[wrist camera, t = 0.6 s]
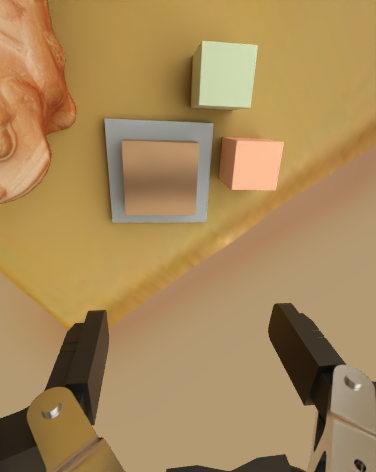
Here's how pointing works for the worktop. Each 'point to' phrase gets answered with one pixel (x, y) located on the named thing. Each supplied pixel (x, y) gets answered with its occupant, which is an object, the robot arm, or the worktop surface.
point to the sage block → (223, 75)
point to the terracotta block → (250, 163)
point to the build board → (156, 131)
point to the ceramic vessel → (29, 95)
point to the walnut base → (160, 176)
